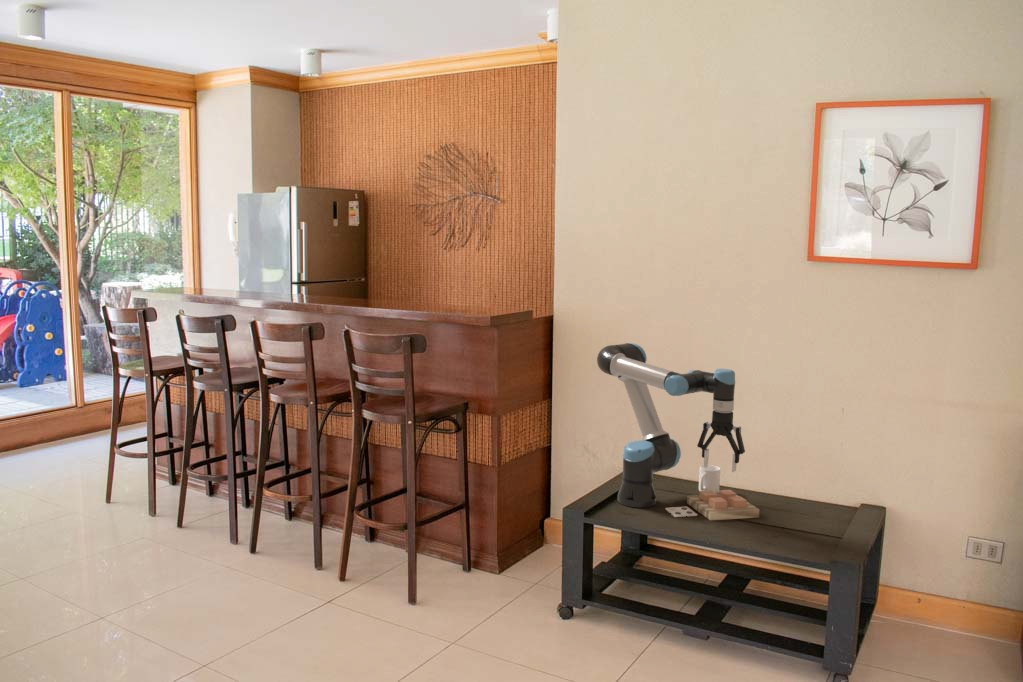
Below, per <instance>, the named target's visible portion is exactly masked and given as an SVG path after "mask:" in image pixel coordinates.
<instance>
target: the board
mask: <svg viewBox="0 0 1023 682" xmlns="http://www.w3.org/2000/svg"><path fill="white" fill-rule="evenodd" d="M699 495H700V494H696V495H686V504H687V505H688V506H690V507H691V508H693V509H694V510H696V511H697V512H698V513H699V514H701V515H702V516H703V517H704V518H706V519H708V520H709V521H722V520H723V521H724V520H738V519H754V518H755V519H757V518H760V508H758V507H756V506H755V505H753V504H751V503H750V502H748V501H747V504H746V507H744V508H733V507H732V506H730V505H729V504H728V501H727V509H713V508H712V507H710V506H709V502H703V501H702V500H701V499H699ZM736 496H738V494H736ZM717 497H718V494H717Z"/></svg>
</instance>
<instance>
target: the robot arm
mask: <svg viewBox="0 0 1023 682" xmlns="http://www.w3.org/2000/svg"><path fill="white" fill-rule="evenodd" d="M647 360H648V359H647V354H646V352H645V350H644V348H643V347H641V345H639V344H637V343H630V342H629V343H628V342H625V343H620V344H614V345H613V344H611V345H610V344H609V345H607V346H605V347H602V349H600V351H599V352H598V354H597V357H596V363H597V367H598V368H599V370H600V371H601V372H603V373H604V374H607V375H610V376H612V377H617V378H618V380H619V381H621V382H622V383H623V384H624V387H625V390H626V393H627V395H628V398H629V401H630V405H631V407H632V410H633V412H634V415H635V418H636V420H637V421H636V422H637V423H638V426H639V429H640V432H641V435H642V439H641V440H634V441H630V442H628V443H626V445H624V448H623V453H622V454H623V455H622V459H623V461H622V483H621V485H620V488H619V490H618V492H617V502H618V503H619V504H621V505H623V506H626V507H632V508H638V509H640V508H643V509H644V508H650V507H653V506H655V505H656V504H657V494H656V492H655V487H654V484H653V483H654V482H653V480H654V479H653V478H654V473H659V472H662V471H667V470H670V469H672V468H675V467H676V466H677V465H678V463H679V462H680V459H681V456H682V454H681V447H680V445H679V443H678V442H677V441H675V439H672V438H671V436H670V433H669V432H667V431H666V430H664V427H663V425H662V423H661V420H660V418H659V415H658V411H657V409H656V406H655V403H654V401H653V397H652V395H651V393H650V390H649V388H648V385H649V386H652V387H655V388H658V389H661V390H663V391H664V390H665V392H666V393H667V394H668V395H670V396H673V397H676V396H677V397H680V396H684V395H690V394H695V393H699V392H700V393H701V392H703V393H710V394H713V395H712V396H713V399H712V415H711V422H708V421H705V422H704V423H703V425H702V431H701V434H700V437H699V440H698V443H697V444H696V445H697V448H700V449H701V457H702V458H703V465H704V467H707V466H708V465H709V453H710V449H709V448H708V447H709V446H710V444H711V443H712V441H713V440H714V438H715V437H716V436H723V437H725V438H726V440H728V442H729V445H730V446H731V448H732V451H733V454H732V463H731V473H735V472H736V471H737V464H738V463H740V455H743V454H745V452H746V450H745V446H744V442H743V437H742V427H741V426H736V425H735V426H734V424H733V422H734V412H733V411H734V407H735V405H734V404H735V389H736V388H735V386H736V373H735V371H734V370H732V369H728V368H717V369H715V370H714V372H708V371H703V370H699V369H698V370H695V369H691V370H689V371H688V372H686V373H679V372H675V371H673V370H668V369H667V368H666V369H665V368H663V367H659V366H657V365H652V364H649V363H647ZM710 428H711V429H712V432H711V433H710V435H709V437H708V438H707V440H706V441H705V439H706V437H707V434H708V431H709V429H710ZM732 431H734V433H735V437H736V441H735V439H734V435H733V434H732Z"/></svg>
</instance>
